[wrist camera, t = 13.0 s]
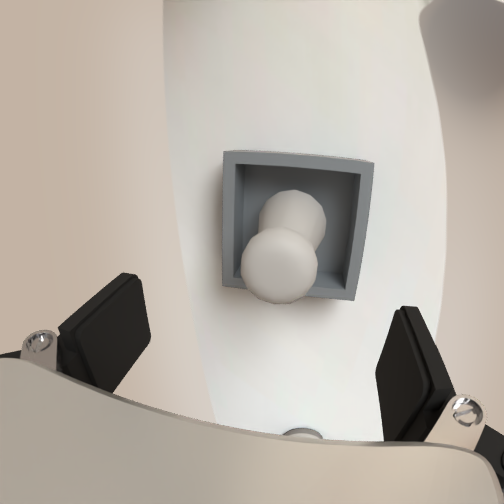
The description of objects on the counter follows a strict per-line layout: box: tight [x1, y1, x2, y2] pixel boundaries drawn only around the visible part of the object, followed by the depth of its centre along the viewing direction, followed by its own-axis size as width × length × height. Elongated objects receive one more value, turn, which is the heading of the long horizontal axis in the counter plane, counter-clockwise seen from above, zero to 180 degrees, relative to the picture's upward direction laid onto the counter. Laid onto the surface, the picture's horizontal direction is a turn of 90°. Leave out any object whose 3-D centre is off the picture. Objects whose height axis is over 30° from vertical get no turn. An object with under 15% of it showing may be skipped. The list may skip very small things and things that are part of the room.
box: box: [222, 150, 374, 301], centre depth 26 cm, size 12×12×4 cm
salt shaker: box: [241, 190, 326, 304], centre depth 22 cm, size 6×6×13 cm
